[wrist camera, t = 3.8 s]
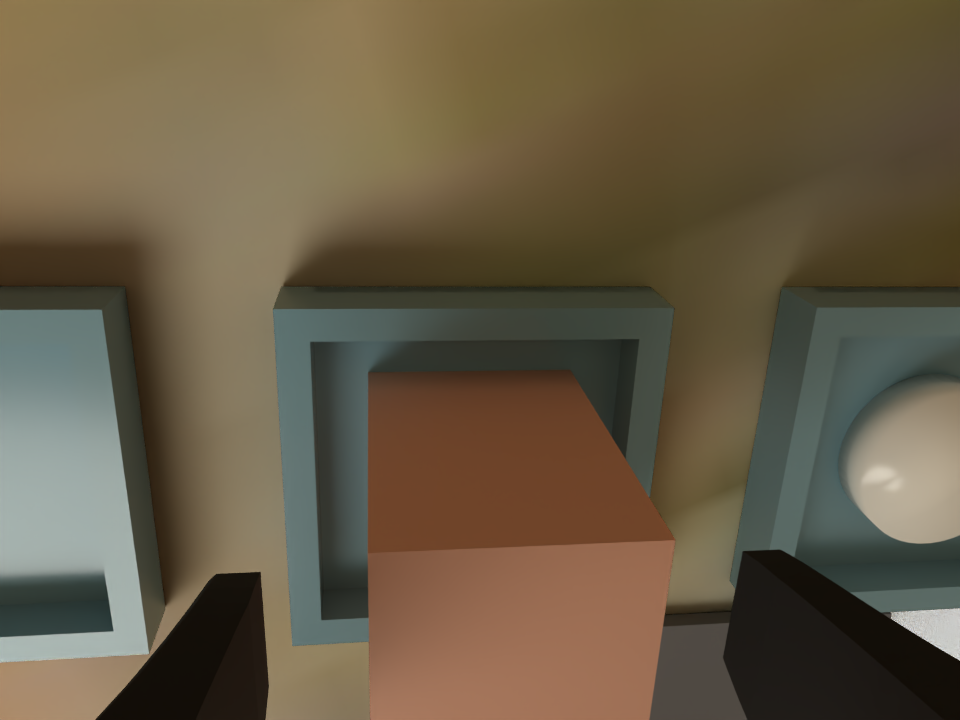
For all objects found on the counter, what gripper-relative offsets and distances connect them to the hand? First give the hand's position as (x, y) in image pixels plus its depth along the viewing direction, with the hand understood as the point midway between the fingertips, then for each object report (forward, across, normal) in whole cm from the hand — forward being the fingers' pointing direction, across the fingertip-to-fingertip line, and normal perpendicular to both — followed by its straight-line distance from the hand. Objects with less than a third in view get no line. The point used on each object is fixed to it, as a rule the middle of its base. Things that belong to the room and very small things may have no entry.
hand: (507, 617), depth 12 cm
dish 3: (+5, -10, 0) cm, 11 cm away
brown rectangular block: (+5, 0, 0) cm, 5 cm away
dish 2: (+5, 0, 0) cm, 5 cm away
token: (+5, -10, 0) cm, 11 cm away
